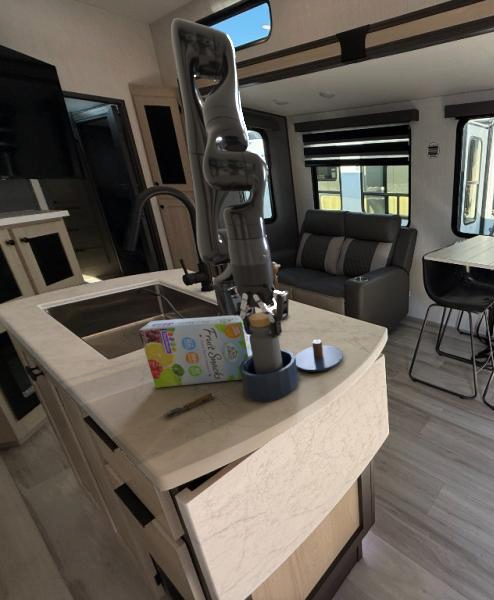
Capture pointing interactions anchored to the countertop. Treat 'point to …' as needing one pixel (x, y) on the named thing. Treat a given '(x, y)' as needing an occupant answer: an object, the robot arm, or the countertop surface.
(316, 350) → the lid
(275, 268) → the wooden tabletop sculpture
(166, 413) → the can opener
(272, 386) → the blue round container
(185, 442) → the countertop surface
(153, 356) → the snack box
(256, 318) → the bottle
